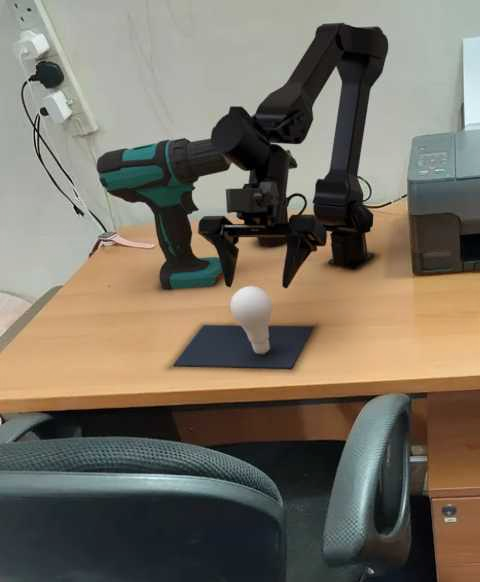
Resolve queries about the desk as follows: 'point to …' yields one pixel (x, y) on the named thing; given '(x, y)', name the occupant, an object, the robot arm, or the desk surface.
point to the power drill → (167, 199)
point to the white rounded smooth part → (253, 315)
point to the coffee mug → (282, 240)
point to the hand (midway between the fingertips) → (256, 287)
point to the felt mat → (244, 348)
